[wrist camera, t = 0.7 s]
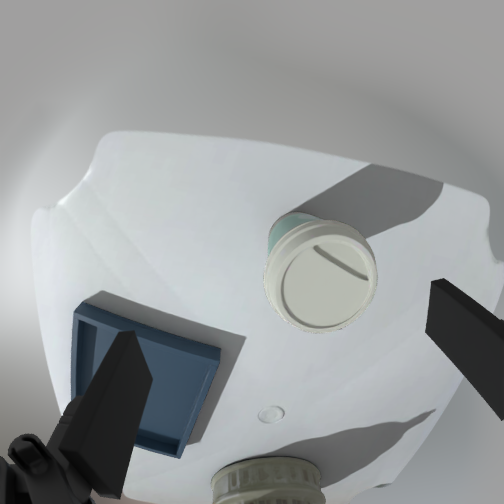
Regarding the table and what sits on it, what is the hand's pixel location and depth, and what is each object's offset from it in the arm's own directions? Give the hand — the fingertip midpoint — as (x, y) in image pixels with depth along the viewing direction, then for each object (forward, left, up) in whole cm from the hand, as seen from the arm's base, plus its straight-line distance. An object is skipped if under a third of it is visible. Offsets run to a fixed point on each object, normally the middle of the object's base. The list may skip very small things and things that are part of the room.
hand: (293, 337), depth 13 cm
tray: (+26, -8, -20) cm, 34 cm away
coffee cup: (0, +4, -20) cm, 21 cm away
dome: (+44, +18, -20) cm, 52 cm away
